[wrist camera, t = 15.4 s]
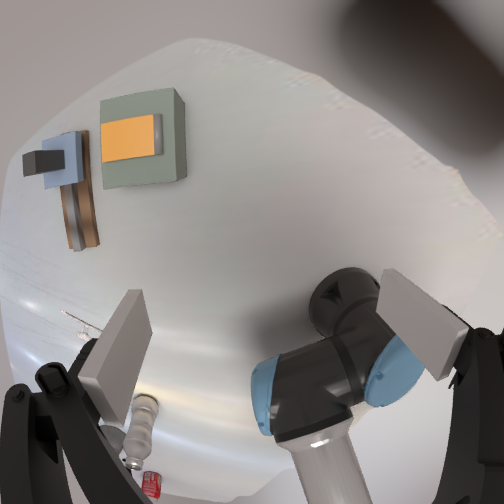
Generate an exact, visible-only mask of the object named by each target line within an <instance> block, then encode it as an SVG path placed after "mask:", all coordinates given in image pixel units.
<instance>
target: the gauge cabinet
mask: <svg viewBox="0 0 504 504" xmlns="http://www.w3.org/2000/svg"><path fill="white" fill-rule="evenodd" d="M153 114H162V144H163V154H160V155H151V156H143V157H136V158H129V159H123V160H117V161H111V162H104V163H102V145H101V163H102V177H103V188H104V190H105V189H112V188H119V187H126V186H134V185H142V184H151V183H161V182H171V181H178V180H180V179H182V178H184V177H186V176H187V166H186V144H185V103H184V102H183V100H182V99H181V97H180V96H179V94H178V93H177V91H176V90H175V89H174V88H167V89H159V90H153V91H147V92H141V93H135V94H130V95H125V96H120V97H116V98H111V99H107V100H103V101H100V141H101V124H103V123H108V122H113V121H118V120H123V119H128V118H134V117H140V116H146V115H153Z"/></svg>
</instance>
